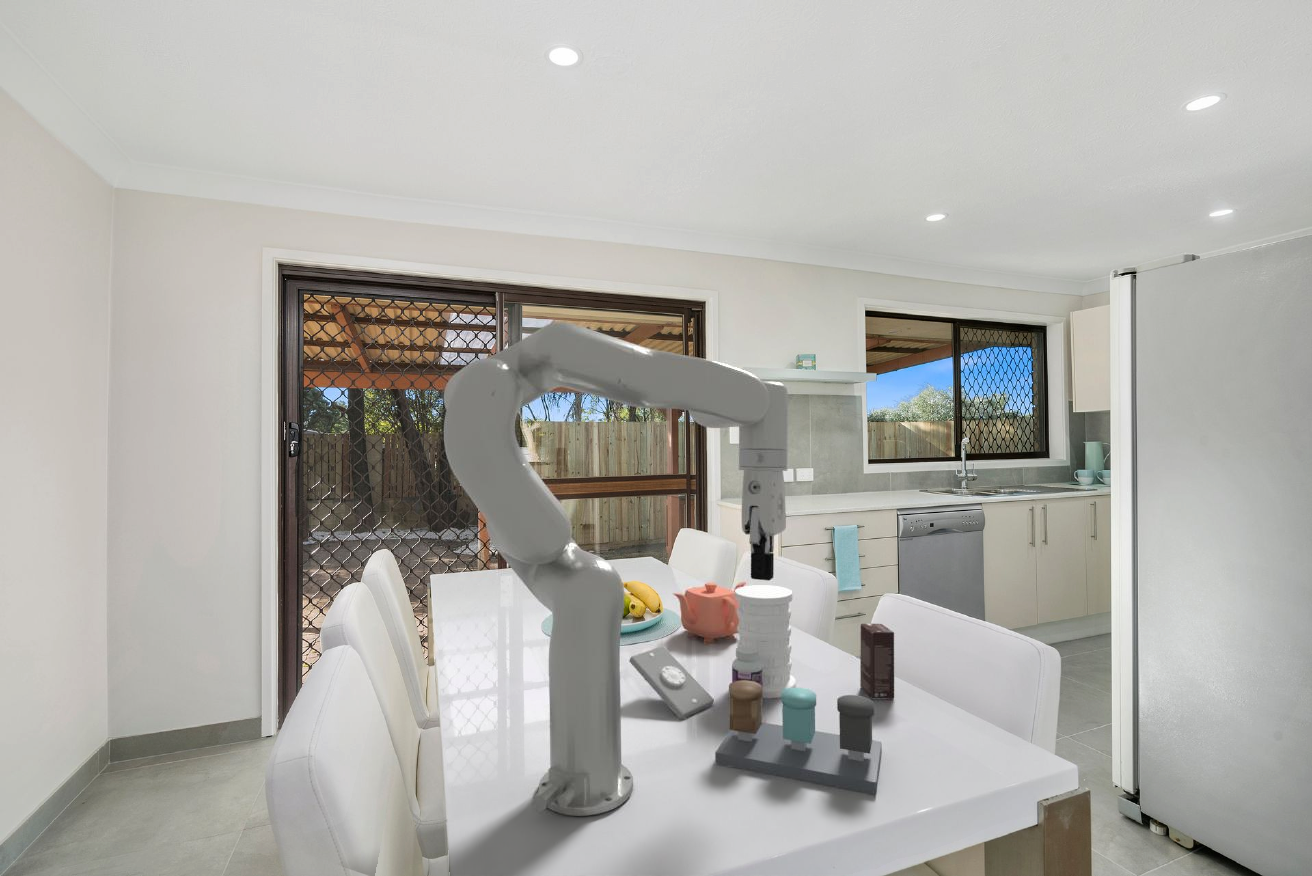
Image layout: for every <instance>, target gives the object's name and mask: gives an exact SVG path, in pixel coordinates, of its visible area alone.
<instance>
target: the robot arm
mask: <svg viewBox="0 0 1312 876" xmlns="http://www.w3.org/2000/svg"><path fill="white" fill-rule="evenodd" d="M560 387H561V388H564V389H565V388H566V389H569V390H573V391H576V392H579V393H582V394H589V395H592V396H595V397H598V398H602V399H606V400H609V401H612V402H616V403H619V404H623V405H626V406H630V407H635V408H636V407H637V408H642V409H668V410H669V409H671V410H672V409H675V410H684V411H688V414H689V415H690V417H691V418H692V419H693V421H695V422H696V423H697V424H698V425H700V426H702V427H705V428H709V429H724V428H735V427H736V428H737V427H738V471H743V476H742V477H743V479H742V491H741V493H742V494H741V495H742V496H741V531H742V532H743V533H744V534H745V535H749V540H748V541H749V544H750V578H751V579H752V580H758V581H771V580H772V579H774V573H775V572H774V570H775V569H774V566H775V565H774V561H775V560H774V555H775V554H774V549H775V546H774V545H775V536H777V535H778V534H781V533H783V532H784V531H785V530H786V527H787V514H786V511H787V510H786V489H785V488H786V487H785V478H784V472H786V471H788V434H789V433H788V429H789V428H788V427H789V426H788V425H789V423H788V422H789V420H788V419H789V418H788V417H789V414H788V411H789V410H788V409H789V408H788V407H789V403H788V402H789V395H788V392H789V391H788V389H787V387H786V385H784V384H783V383H782V382H777V381H762V380H761V379H760V378H759V377H757V376H756V375H754V374H753V373H750V372H748V371H746V370H742V369H740V368H737V367H733V366H731V365H728V364H725V363H721V362H719V361H715V360H711V359H706V358H701V357H696V356H691V355H684V354H679V353H674V352H670V351H665V350H658V349H652V348H648V347H646V346H642V345H639V344H636V343H632V342H630V341H626V340H623V339H620V338H617V337H614V336H611V335H609V334H606V333H602V332H598V331H596V330H593V329H590V328H588V327H584V326H581V325H578V324H575V323H571V322H563V321H556V322H552V323H548V324H546V325H544V326H542V327H541V328H539V329H538V330H535V331H534V332H532V333H531V334H529V335H528V336H526V337H525V338H523V339H520V340H519V341H518V342H516V343H514V344H512V345H510V346H509V347H507V348H505V349H503V350H501V351H498V352H497V353H495V354H493V355H490V356H489V357H486V358H480V359H477V360H474V361H472V362H470V363H468V364H467V365H465V366H464V367H462V368H461V369H460V370H459V371H457V372H456V373H454V374H453V375H452V377H450V378H449V380H448V382H447V383H446V386H445V388H444V392H443V403H444V404H443V405H444V407H445V410H446V411H445V415H444V416H445V417H444V423H443V442H444V450H445V455H446V458H447V462H448V464H449V467H450V469H451V470H452V473H453V475H454V477H455V478H456V479H457V481H458V483H459V484H460V485H461V487H462V488H463V490H464V491H465V493H466V494H467V495H468V497H469V498H470V499H471V501H472V502H473V504H474V505H475V506H476V509H478V511H479V512H480V513H481V515H482V516H483V518H484V519H485V527H486V532H487V535H488V537H489V540H490V542H491V543H492V545H493V546H494V547H495V549H496V550H497V552H498V553H499V554H500V555H501V556H502V558H503V559H504V561H505V562H506V564H508V566H509V567H510V568H511V569H512V571H513V572H514V573H515V575H516V576H517V577H518V578H519V579H520V580H521V581H522V583H523V585H525V586H526V588H527V589H528V591H530V593H531V594H532V595H533V596H534V597H535V599H537V601H539V602H540V604H542V605H543V606H544V607H546V608H547V609H548V611H550V612H551V613H552V624H551V625H552V626H551V627H552V628H551V632H550V638H549V639H550V640H549V646H548V680H549V681H548V683H549V684H548V687H549V689H548V690H549V697H548V698H549V750H550V751H549V754H550V755H549V756H550V758H549V761H550V762H549V764H550V768H549V769H548V770H547V772H546V773H544V775H543V776H542V777H541V778H540V780H539V783H538V793H536V795H535V796H534V797H533V800H532V803H533V806H534V808H535V809H536V810H537V811H538V812H542V811H545V810H546V809H547V808H548V809H549V810H551V811H552V812H555V813H558V814H562V815H565V816H571V817H574V816H575V817H578V816H579V817H583V816H584V817H585V816H593V815H594V816H595V815H598V814H604V813H606V812H609V811H612V810H613V809H615V808H618V807H620V805H622V804H623V803H624V802H625V801H626V802H627V801H628V799H629V797H631V795H632V793H633V791H634V790H633V789H634V777H633V775H632V772H631V771H630V770H629V768H627V766H625V765H624V764H622V717H621V716H622V715H621V712H622V711H621V710H622V709H621V708H622V707H621V704H622V702H621V701H622V700H621V666H620V665H621V662H620V661H621V656H620V655H621V654H620V652H621V649H620V648H621V647H620V646H621V633H622V632H621V630H622V623H623V616H624V609H625V587H624V583H623V580H622V578H621V575H620V574H619V572H618V570H617V569H616V568H615V567H614V566H613V564H611V563H610V562H609V561H607V560H606V559H604V557H600V556H599V555H596V554H594V553H592V552H589V551H586V550H583V549H581V548H580V547H579V545H578V543H576V541H575V540H574V539H573V537H572V536H573V526H572V521H571V519H570V515H569V514H568V512H567V510H566V509H565V506H563V504H562V503H561V502H560V501H559V500H558V498H557V497H556V496H555V495H554V494H553V492H552V491H551V490H550V489H549V487H548V486H547V485H546V483H545V482H544V481H543V480H542V478H541V477H540V475H539V474H538V473H537V472H536V470H535V469H534V468H533V466H532V465H531V464H530V462H529V460H528V459H527V457H526V456H525V455H524V452H523V450H522V449H521V447H520V445H519V443H518V441H517V436H516V419H517V415H518V413H519V411H520V409H522V408H524V407H526V406H527V405H528V404H531V403H533V402H534V401H536V400H538V399H539V398H541V397H543V396H545V395H546V394H548V393H550V392H551V391H553V390H555V389H557V388H560Z"/></svg>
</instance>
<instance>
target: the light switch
mask: <svg viewBox="0 0 1312 876" xmlns="http://www.w3.org/2000/svg"><path fill="white" fill-rule="evenodd" d="M628 662H629V664H631V665H632V666H633V668H634V669H635V670H636V671H637V672H638V674H640V675H641V676H642V678H643V679H644V680H645V681H646V682H647V683H648V684H649V686H650V687H651V688H652V689H653V690H654V692H655V693H657V694H658V696H659V697H660V699H662V701H663V702H665V704H666V705H667V706H668V707H669V708H670V709H671V710H672V712H674V714H675V715H676V716H677V717H678V718H679V719H680V720H684V719H686V718H688V717H690V716H692V715H693V714H696V713H698V712H700V711H702V710H704V709H707V708H709V707H711V706H713V704H714V703H715V699H714V697H712V695H710V694H709V692H707V690H706V689H705V688H704V687H703V686H702V685H701V684H700V683H699V682H698V681H697V680H696V679H695V678H694V677H693V675H691V674H690V672H689V671H687V670H686V668H685V667H684V666H683V665H682V664H681V663H680V662H679V661H678V659H676V657H674V656H673V655H672V654H671V653H670V651H669V650H667V648H666V647H665V646H663V645H662V646H661V645H660V646H658V647H656V648H652V649H649V650H645V651H644V652H641V653H637V654H635V655H632V656H631V657H630V659H629V661H628ZM708 706H709V707H708ZM685 717H686V718H685Z"/></svg>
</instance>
